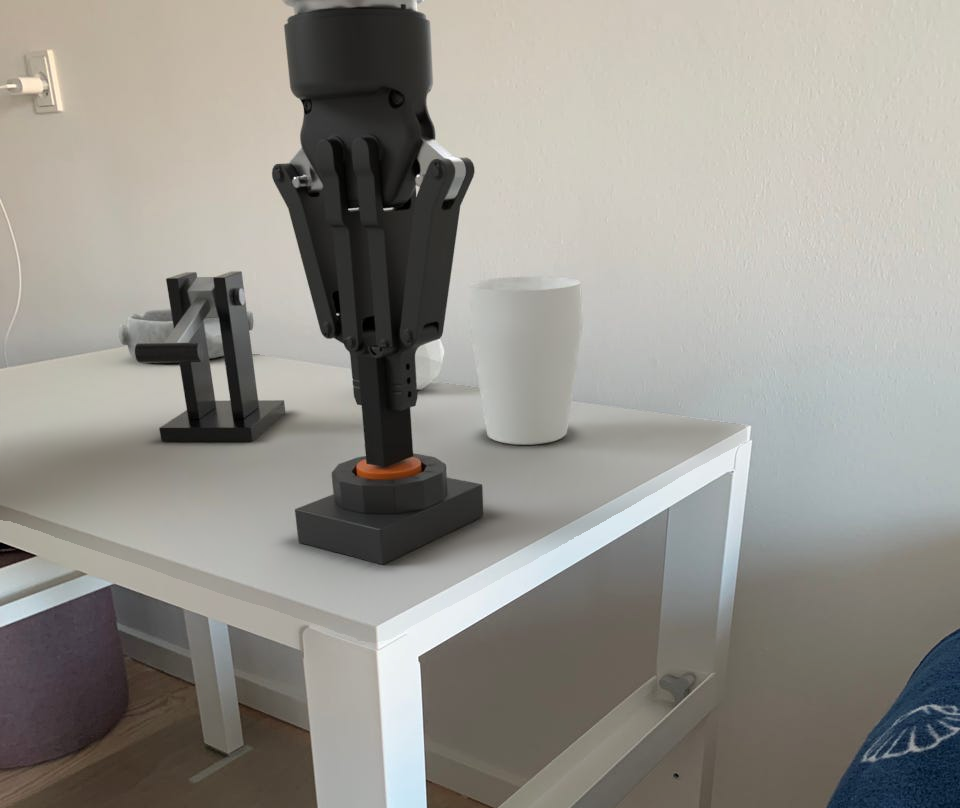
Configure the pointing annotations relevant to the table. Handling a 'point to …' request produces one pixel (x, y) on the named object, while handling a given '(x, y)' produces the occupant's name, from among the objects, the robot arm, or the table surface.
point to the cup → (526, 355)
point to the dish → (168, 330)
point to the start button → (390, 469)
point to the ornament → (428, 362)
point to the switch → (184, 328)
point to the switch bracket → (244, 410)
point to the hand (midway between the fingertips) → (390, 459)
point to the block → (388, 511)
